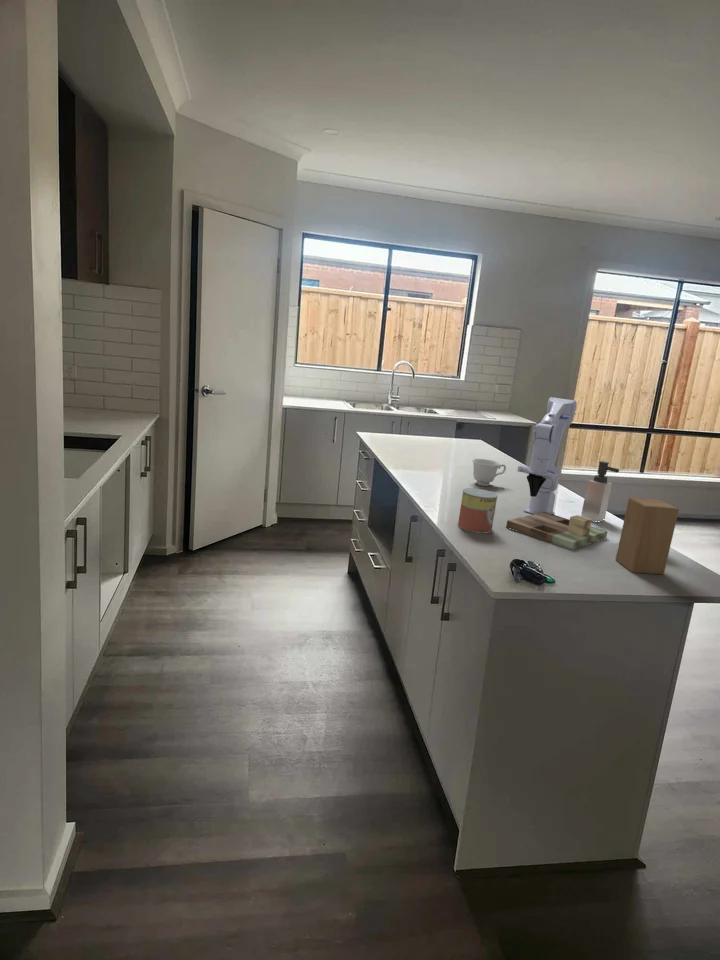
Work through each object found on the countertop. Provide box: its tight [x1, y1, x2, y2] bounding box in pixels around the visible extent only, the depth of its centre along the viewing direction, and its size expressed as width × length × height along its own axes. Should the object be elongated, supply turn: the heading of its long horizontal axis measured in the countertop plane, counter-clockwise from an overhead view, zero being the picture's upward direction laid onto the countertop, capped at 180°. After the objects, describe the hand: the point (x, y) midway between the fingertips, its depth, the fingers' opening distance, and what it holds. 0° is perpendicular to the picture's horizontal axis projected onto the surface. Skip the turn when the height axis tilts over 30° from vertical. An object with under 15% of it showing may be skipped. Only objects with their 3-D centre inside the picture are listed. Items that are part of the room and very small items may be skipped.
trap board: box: [505, 512, 608, 551], centre depth 209 cm, size 24×24×2 cm
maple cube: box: [568, 514, 593, 536], centre depth 203 cm, size 5×5×5 cm
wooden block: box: [615, 496, 679, 575], centre depth 181 cm, size 10×10×20 cm
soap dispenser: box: [580, 460, 620, 522], centre depth 229 cm, size 6×9×22 cm
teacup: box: [472, 458, 507, 487], centre depth 270 cm, size 12×15×10 cm
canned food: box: [457, 487, 498, 534], centre depth 204 cm, size 11×11×12 cm
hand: (533, 496), depth 218 cm, fingers closed
